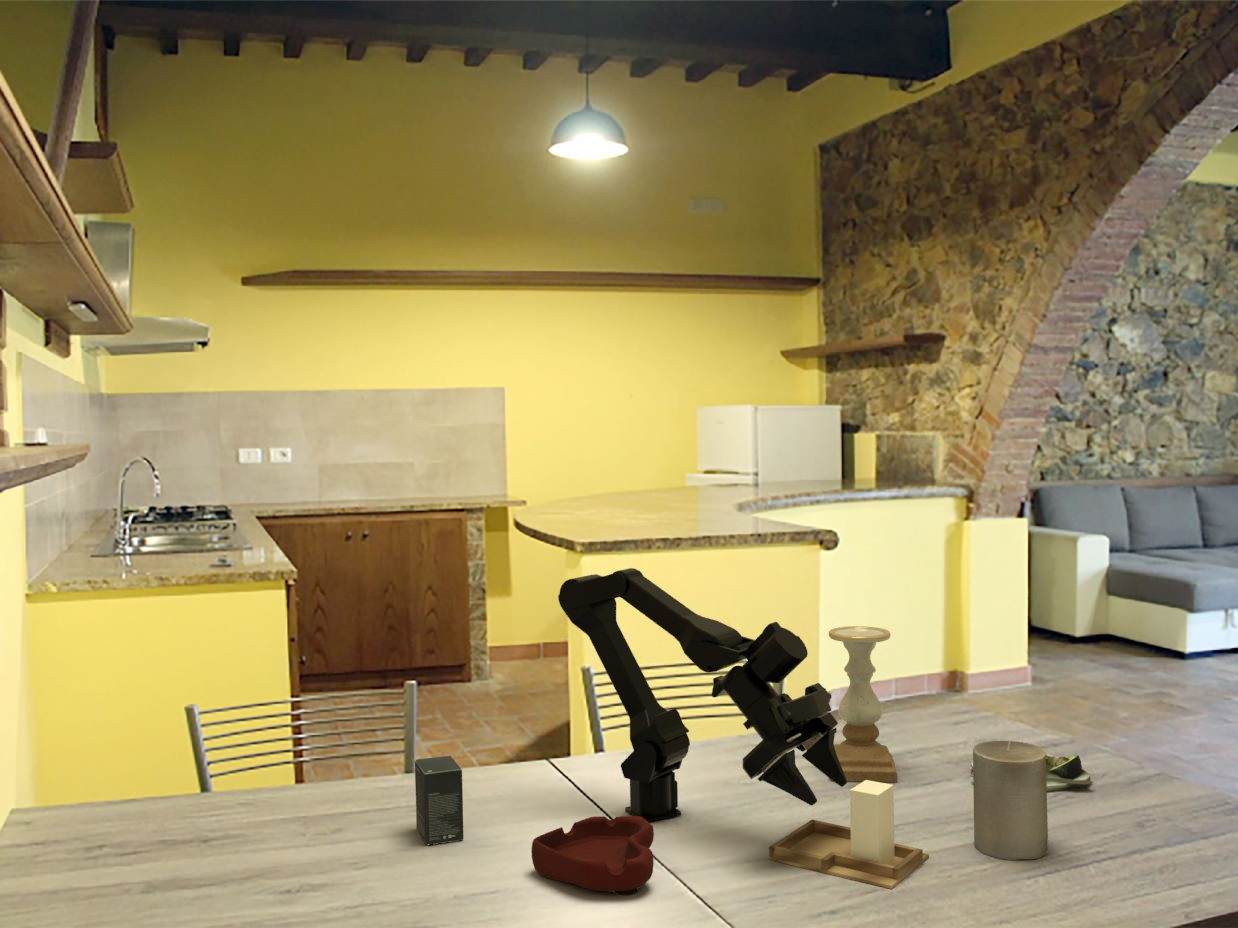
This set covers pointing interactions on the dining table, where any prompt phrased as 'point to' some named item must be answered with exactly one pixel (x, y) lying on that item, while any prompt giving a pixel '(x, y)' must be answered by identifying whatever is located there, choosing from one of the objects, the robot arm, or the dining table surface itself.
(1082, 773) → the salad plate
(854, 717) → the candle holder
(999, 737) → the dining table surface
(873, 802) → the panel block
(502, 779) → the dining table surface
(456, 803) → the box
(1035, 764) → the pillar candle
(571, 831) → the ashtray
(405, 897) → the dining table surface
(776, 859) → the keyhole frame
